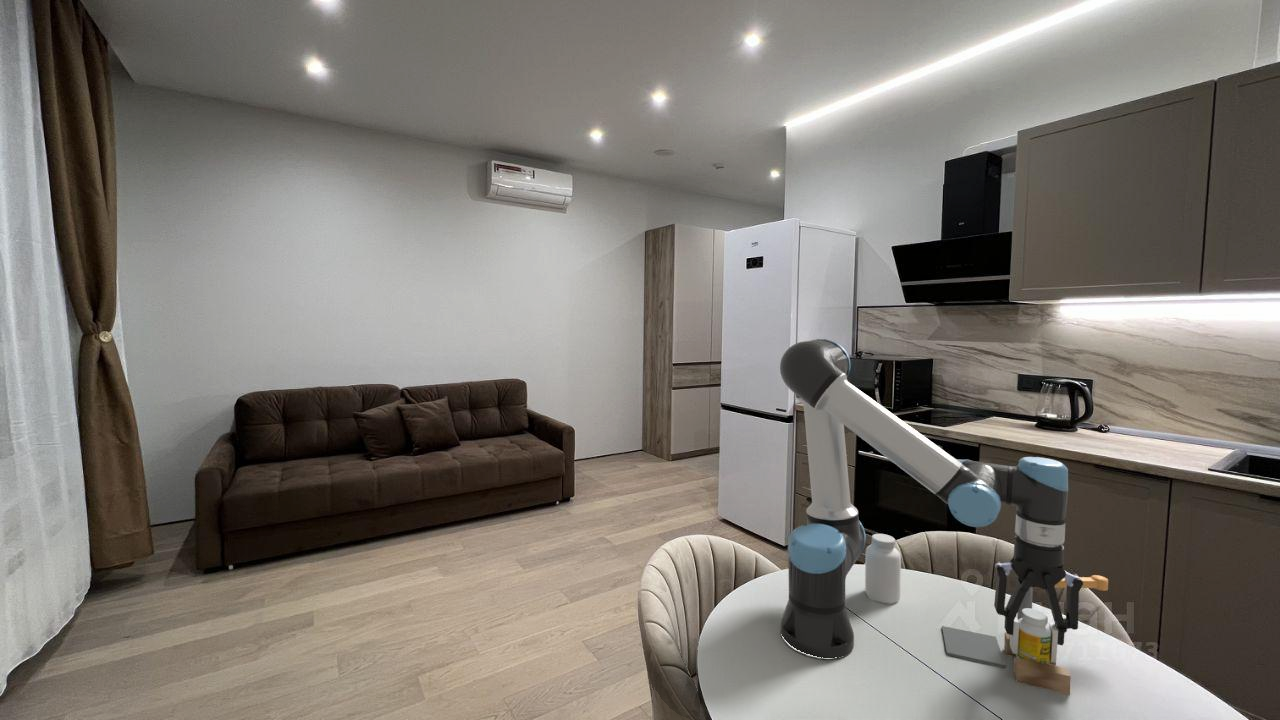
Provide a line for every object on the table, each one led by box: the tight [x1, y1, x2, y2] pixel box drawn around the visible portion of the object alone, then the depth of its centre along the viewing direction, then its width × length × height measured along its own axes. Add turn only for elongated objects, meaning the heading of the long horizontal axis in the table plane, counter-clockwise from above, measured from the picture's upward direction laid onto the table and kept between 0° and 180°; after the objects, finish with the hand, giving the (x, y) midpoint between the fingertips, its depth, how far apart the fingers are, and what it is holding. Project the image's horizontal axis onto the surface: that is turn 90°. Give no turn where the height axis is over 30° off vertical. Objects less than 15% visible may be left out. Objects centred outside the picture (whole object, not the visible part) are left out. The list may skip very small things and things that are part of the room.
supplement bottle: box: [1016, 608, 1051, 665], centre depth 100 cm, size 5×5×10 cm
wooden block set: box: [1003, 631, 1072, 695], centre depth 103 cm, size 8×17×4 cm, turn 155°
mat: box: [941, 625, 1007, 669], centre depth 107 cm, size 10×10×1 cm
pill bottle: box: [864, 533, 902, 604], centre depth 127 cm, size 8×8×15 cm
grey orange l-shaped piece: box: [1016, 574, 1109, 620], centre depth 107 cm, size 3×17×14 cm, turn 85°
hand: (1032, 653), depth 100 cm, fingers closed on supplement bottle, 5 cm apart
